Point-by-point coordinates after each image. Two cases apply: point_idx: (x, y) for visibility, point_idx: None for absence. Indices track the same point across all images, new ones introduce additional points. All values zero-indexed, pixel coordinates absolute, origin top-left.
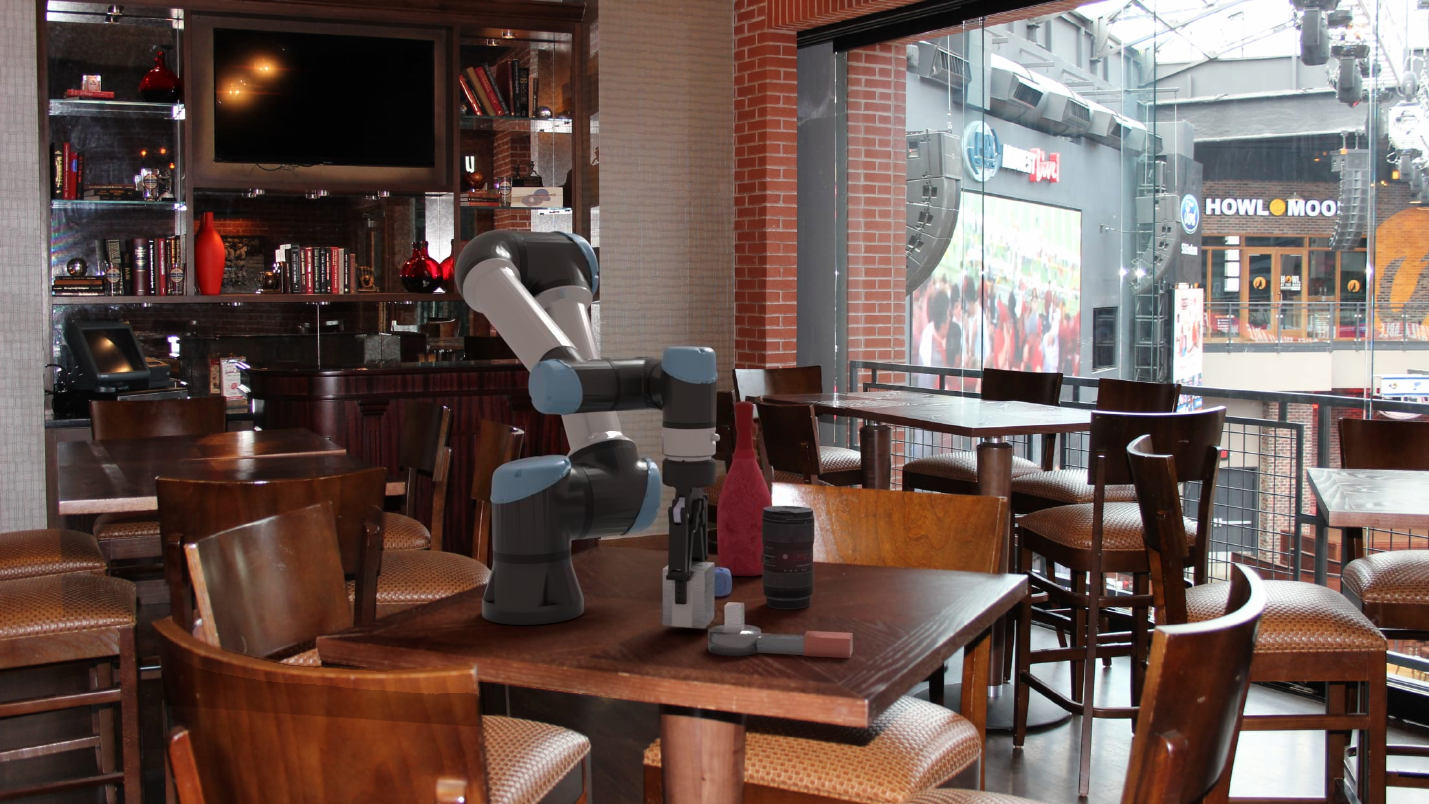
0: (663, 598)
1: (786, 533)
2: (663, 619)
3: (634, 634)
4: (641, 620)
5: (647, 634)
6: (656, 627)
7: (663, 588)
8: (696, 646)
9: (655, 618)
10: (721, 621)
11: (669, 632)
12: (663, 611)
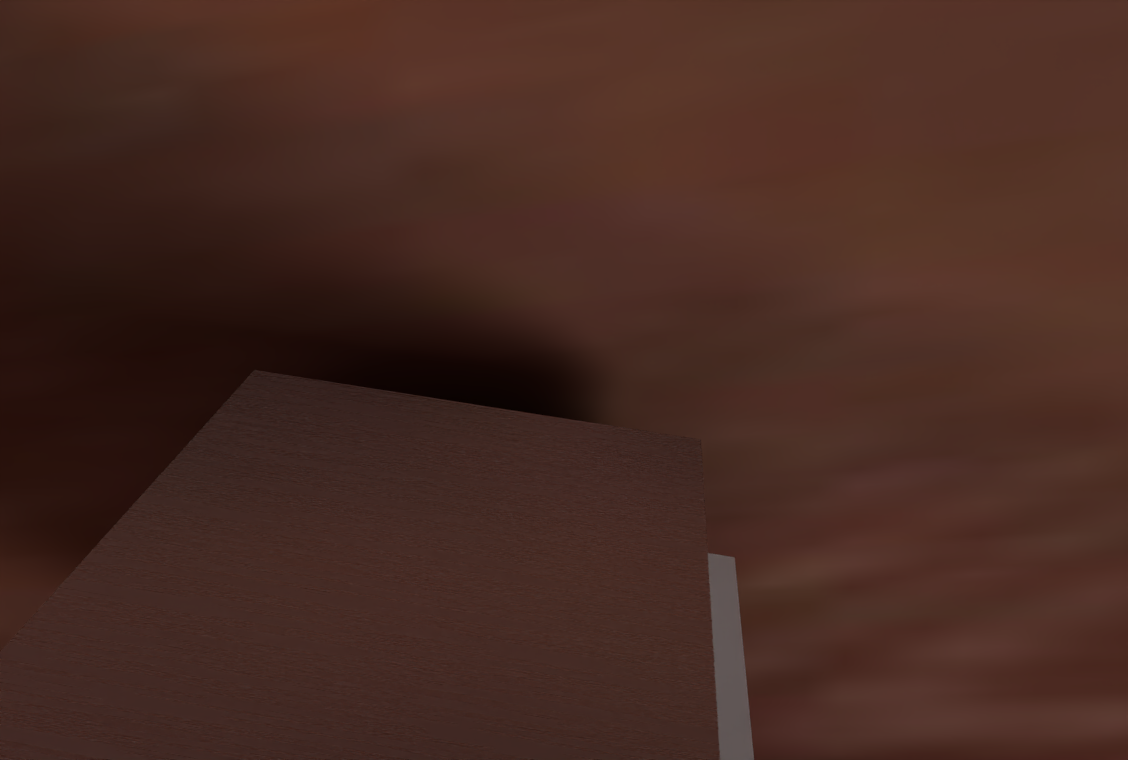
0: (99, 556)
1: None
2: (225, 410)
3: (261, 39)
4: (935, 9)
5: (289, 182)
6: (591, 234)
7: (9, 659)
8: (12, 605)
9: (1022, 168)
10: (828, 736)
11: (403, 378)
12: (182, 457)
